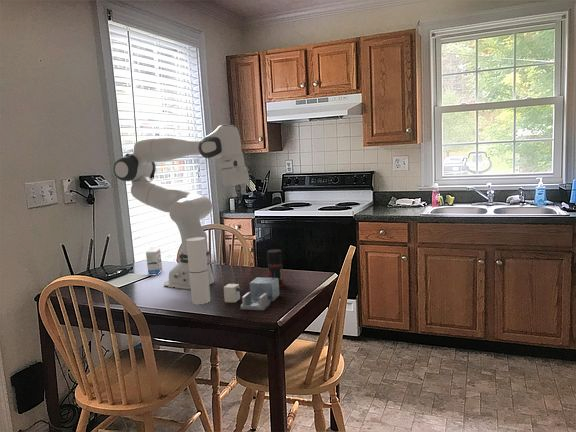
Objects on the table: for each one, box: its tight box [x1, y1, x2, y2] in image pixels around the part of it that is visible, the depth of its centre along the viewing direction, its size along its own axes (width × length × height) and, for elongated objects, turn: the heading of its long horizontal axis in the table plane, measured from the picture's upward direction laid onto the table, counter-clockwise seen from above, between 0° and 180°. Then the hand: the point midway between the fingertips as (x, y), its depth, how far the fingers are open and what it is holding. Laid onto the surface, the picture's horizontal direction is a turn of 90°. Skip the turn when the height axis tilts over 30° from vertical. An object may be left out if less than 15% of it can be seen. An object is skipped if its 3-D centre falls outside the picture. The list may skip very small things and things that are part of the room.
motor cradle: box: [240, 276, 280, 311], centre depth 181 cm, size 20×9×7 cm, turn 162°
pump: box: [223, 283, 243, 303], centre depth 183 cm, size 4×6×6 cm
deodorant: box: [266, 248, 284, 288], centre depth 200 cm, size 6×6×15 cm
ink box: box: [145, 248, 163, 275], centre depth 235 cm, size 9×5×12 cm, turn 179°
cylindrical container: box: [186, 237, 211, 306], centre depth 183 cm, size 7×7×25 cm
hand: (239, 195), depth 199 cm, fingers open, 8 cm apart
